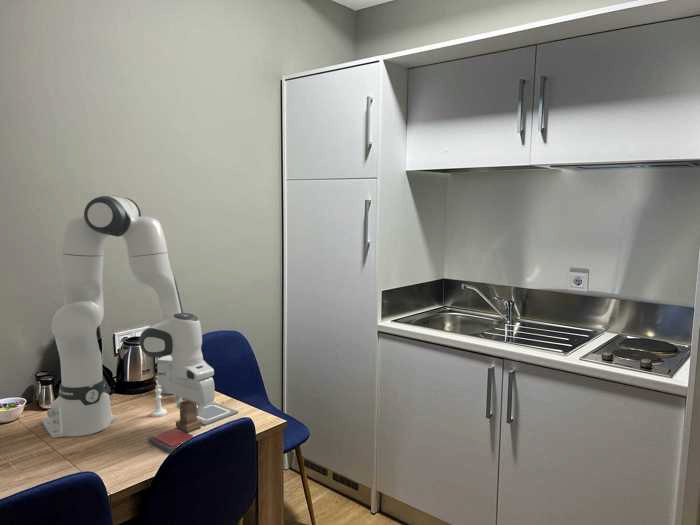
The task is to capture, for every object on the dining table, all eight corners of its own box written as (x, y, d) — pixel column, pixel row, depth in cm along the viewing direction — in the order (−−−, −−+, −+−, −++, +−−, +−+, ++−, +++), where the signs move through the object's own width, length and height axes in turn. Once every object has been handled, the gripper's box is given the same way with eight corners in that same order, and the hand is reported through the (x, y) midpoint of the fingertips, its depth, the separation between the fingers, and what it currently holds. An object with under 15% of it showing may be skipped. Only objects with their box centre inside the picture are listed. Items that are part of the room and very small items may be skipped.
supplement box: (157, 393, 190) (156, 359, 188) (167, 386, 197) (166, 353, 196) (176, 395, 188) (175, 360, 187) (186, 388, 196) (185, 354, 194)
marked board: (180, 415, 170) (180, 413, 170) (213, 403, 180) (213, 401, 180) (204, 425, 162) (204, 423, 162) (238, 413, 172) (238, 411, 172)
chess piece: (161, 417, 168) (160, 387, 167) (147, 416, 169) (146, 385, 168) (170, 411, 173) (169, 382, 172) (156, 410, 174) (155, 381, 173)
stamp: (175, 428, 160) (175, 402, 159) (190, 423, 164) (189, 397, 163) (187, 433, 156) (186, 406, 155) (201, 428, 160) (201, 402, 159)
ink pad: (148, 442, 150) (148, 437, 150) (176, 431, 157) (176, 427, 157) (170, 453, 143) (170, 448, 143) (198, 442, 150) (198, 437, 150)
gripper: (158, 363, 162) (161, 407, 164) (199, 376, 150) (201, 423, 151) (176, 359, 167) (178, 401, 169) (217, 370, 155) (219, 416, 156)
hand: (189, 411), depth 160 cm, fingers open, 8 cm apart
